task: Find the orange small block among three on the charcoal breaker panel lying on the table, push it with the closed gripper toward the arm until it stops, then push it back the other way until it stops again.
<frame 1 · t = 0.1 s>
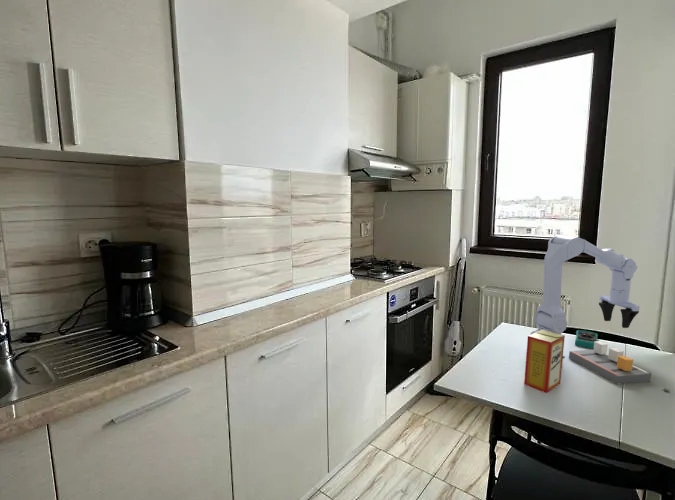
hand: (616, 324, 136), 10 cm above the table, tool pointing down, fingers open, 7 cm apart
breaker panel: (606, 368, 121), on the table
orange small block: (624, 363, 115), point 5 cm above the table, slide at 0.0 cm
baking soda box: (542, 384, 111), on the table
digital multimeter: (586, 343, 145), on the table
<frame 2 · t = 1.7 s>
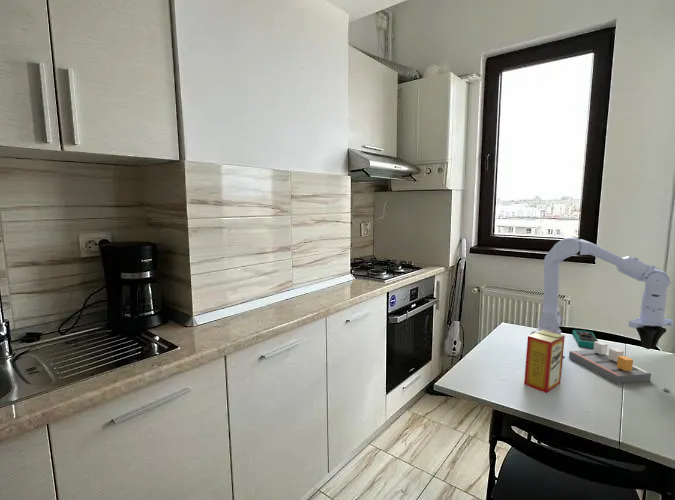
hand: (647, 347, 115), 9 cm above the table, tool pointing down, fingers closed
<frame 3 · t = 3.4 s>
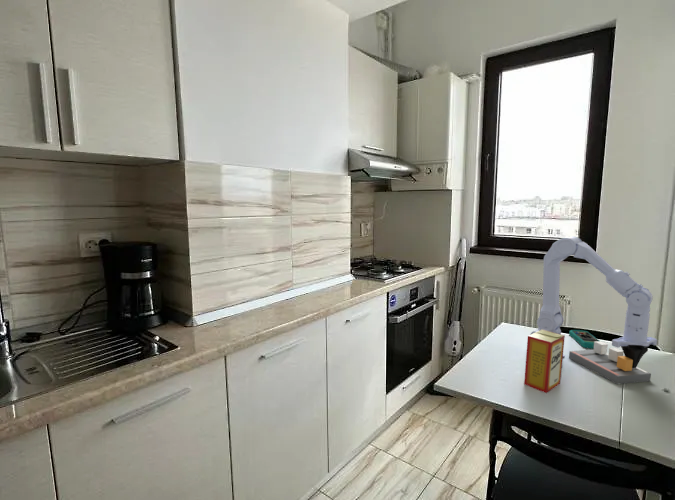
hand: (631, 366, 115), 3 cm above the table, tool pointing down, fingers closed
orange small block: (624, 363, 115), point 5 cm above the table, slide at -0.1 cm, touching gripper
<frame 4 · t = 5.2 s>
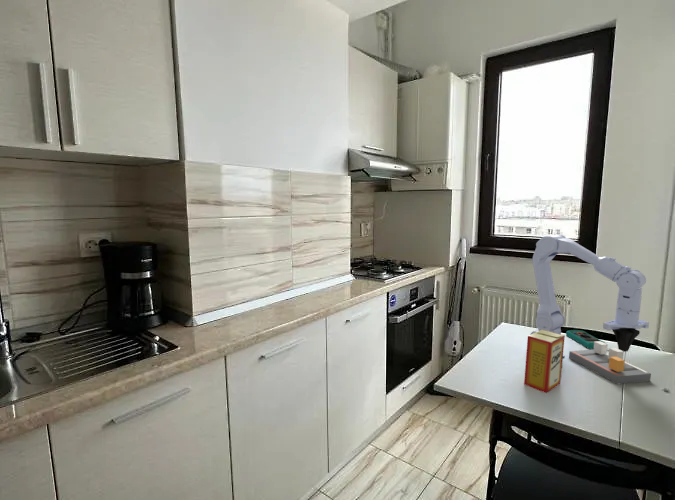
hand: (623, 350, 114), 9 cm above the table, tool pointing down, fingers closed
orange small block: (616, 363, 114), point 5 cm above the table, slide at -3.1 cm
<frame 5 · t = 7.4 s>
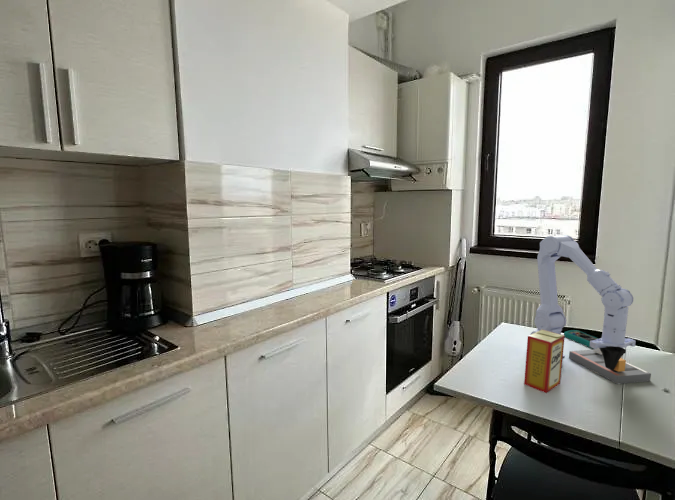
hand: (609, 368, 114), 3 cm above the table, tool pointing down, fingers closed
orange small block: (617, 363, 114), point 5 cm above the table, slide at -2.7 cm, touching gripper
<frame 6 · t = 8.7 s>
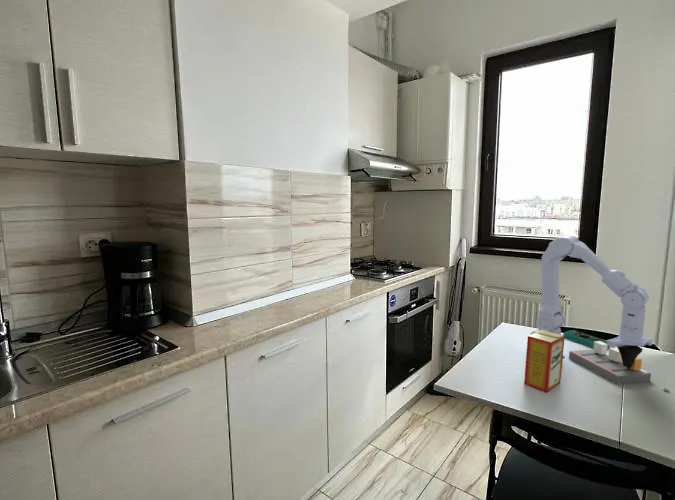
hand: (626, 367, 115), 3 cm above the table, tool pointing down, fingers closed
orange small block: (633, 362, 115), point 5 cm above the table, slide at 3.2 cm, touching gripper
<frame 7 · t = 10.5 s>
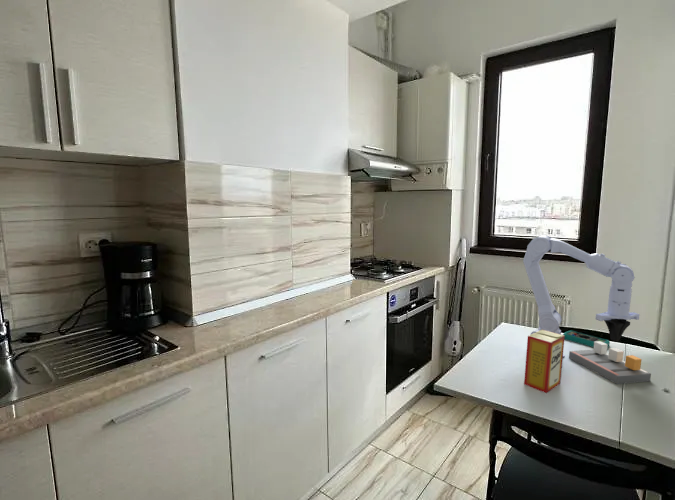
hand: (614, 340, 120), 10 cm above the table, tool pointing down, fingers closed
orange small block: (633, 362, 115), point 5 cm above the table, slide at 3.1 cm
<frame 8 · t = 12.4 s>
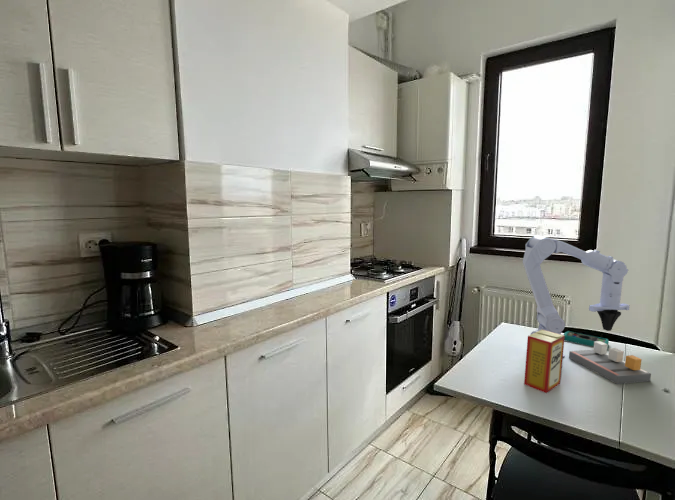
hand: (606, 329, 129), 10 cm above the table, tool pointing down, fingers closed
at the end: orange small block slide at 3.1 cm; digital multimeter moved 1.2 cm from its start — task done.
